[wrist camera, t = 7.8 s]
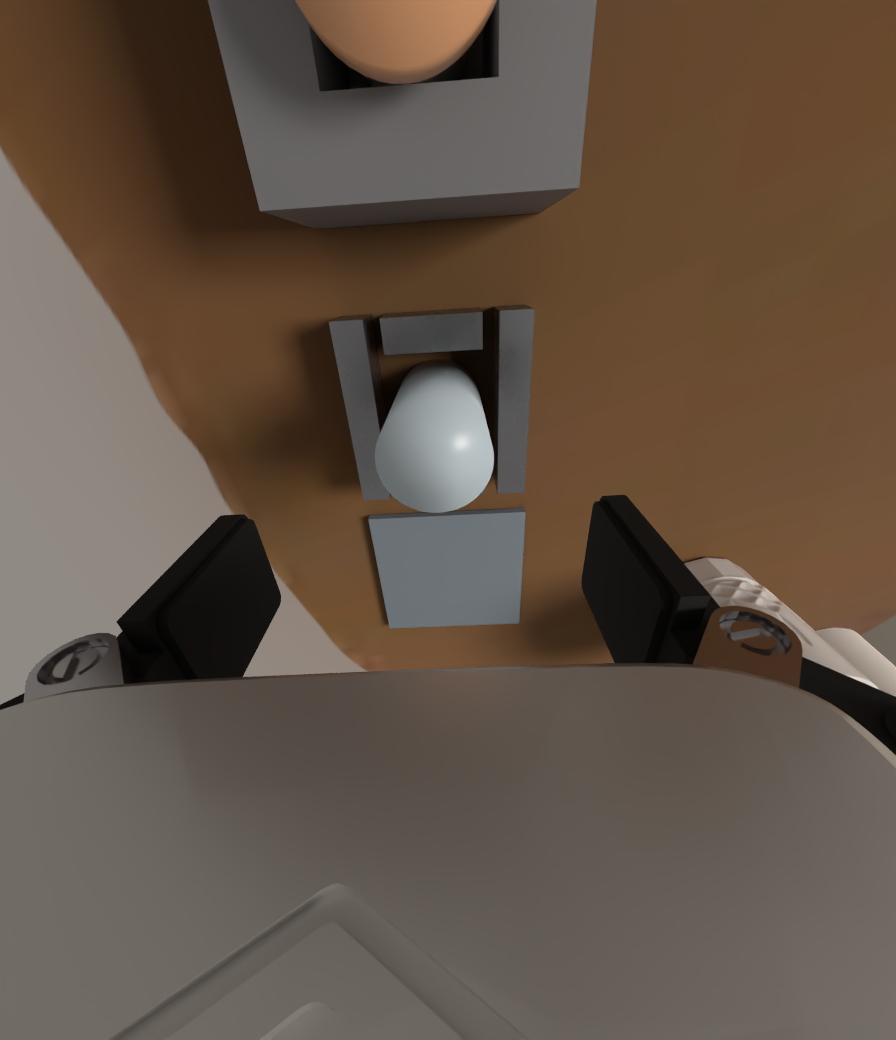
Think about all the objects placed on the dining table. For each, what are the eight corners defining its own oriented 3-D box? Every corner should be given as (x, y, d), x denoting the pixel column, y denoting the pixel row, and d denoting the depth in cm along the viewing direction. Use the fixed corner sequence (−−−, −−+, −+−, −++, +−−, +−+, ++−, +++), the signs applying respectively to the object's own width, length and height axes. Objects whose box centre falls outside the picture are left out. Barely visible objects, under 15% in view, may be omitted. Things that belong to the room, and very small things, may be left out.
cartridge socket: (341, 316, 19) (328, 321, 17) (525, 304, 19) (534, 308, 17) (371, 480, 24) (363, 500, 22) (517, 473, 24) (524, 492, 22)
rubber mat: (369, 515, 25) (368, 519, 25) (524, 508, 25) (525, 511, 25) (390, 623, 31) (389, 628, 30) (518, 618, 30) (519, 623, 30)
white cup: (706, 637, 32) (799, 770, 23) (620, 616, 30) (686, 749, 22) (777, 565, 28) (922, 693, 19) (681, 537, 26) (791, 661, 18)
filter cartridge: (393, 361, 20) (365, 405, 14) (479, 356, 20) (494, 398, 14) (403, 443, 23) (384, 515, 16) (480, 439, 23) (493, 510, 16)
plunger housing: (237, -173, 12) (86, -492, 7) (563, -207, 12) (650, -567, 7) (314, 229, 17) (259, 210, 12) (540, 212, 17) (579, 187, 12)
